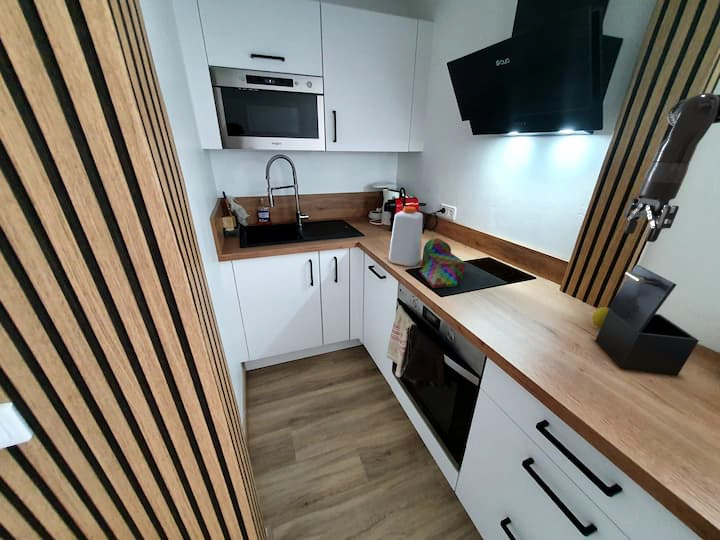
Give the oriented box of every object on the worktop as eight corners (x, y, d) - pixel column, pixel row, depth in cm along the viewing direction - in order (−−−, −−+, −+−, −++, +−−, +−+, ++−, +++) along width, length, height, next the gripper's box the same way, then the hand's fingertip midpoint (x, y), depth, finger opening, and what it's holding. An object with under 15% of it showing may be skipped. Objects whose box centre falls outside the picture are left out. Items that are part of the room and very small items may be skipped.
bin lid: (639, 265, 79) (620, 260, 80) (677, 284, 68) (655, 279, 68) (610, 308, 85) (593, 304, 86) (641, 332, 74) (621, 327, 74)
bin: (643, 346, 88) (660, 314, 83) (677, 376, 77) (699, 340, 72) (594, 341, 90) (608, 309, 85) (621, 369, 79) (639, 333, 74)
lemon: (606, 325, 98) (615, 305, 95) (611, 334, 94) (620, 313, 91) (586, 321, 101) (594, 301, 97) (591, 329, 96) (599, 309, 93)
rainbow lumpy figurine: (411, 265, 144) (414, 238, 138) (442, 263, 147) (446, 237, 142) (433, 287, 122) (437, 256, 116) (468, 285, 125) (475, 255, 119)
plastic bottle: (422, 258, 153) (428, 206, 142) (414, 268, 141) (420, 212, 130) (395, 253, 159) (399, 203, 148) (385, 262, 147) (389, 208, 136)
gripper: (703, 183, 70) (673, 245, 77) (658, 178, 83) (635, 231, 90) (669, 182, 72) (642, 243, 78) (629, 177, 84) (609, 230, 91)
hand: (638, 237), depth 84 cm, fingers open, 8 cm apart
